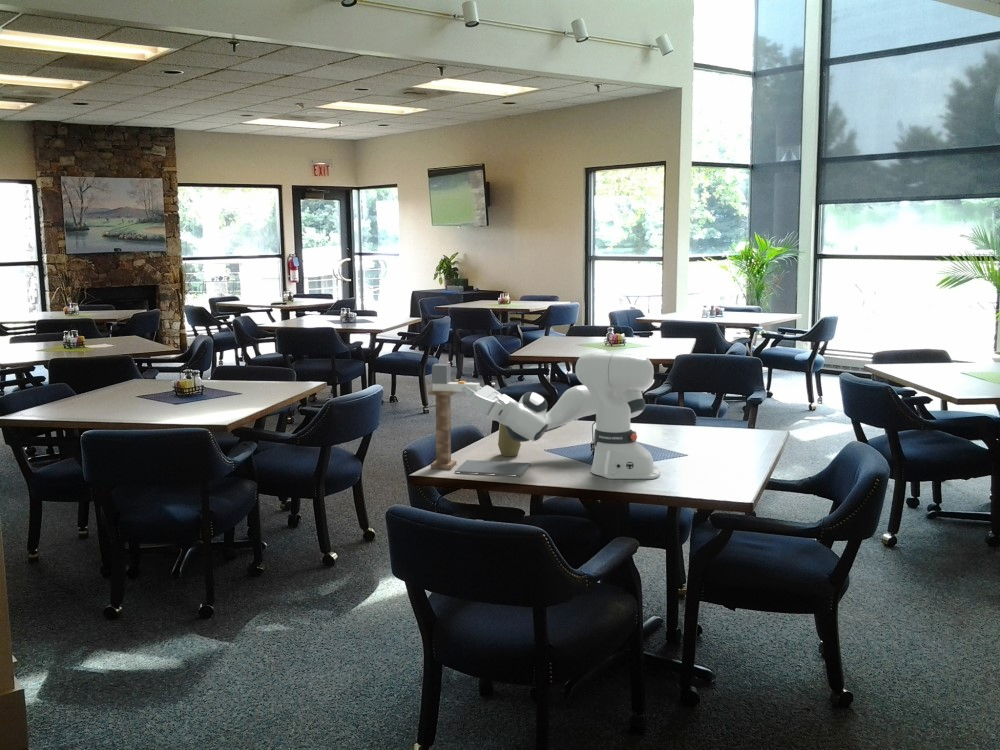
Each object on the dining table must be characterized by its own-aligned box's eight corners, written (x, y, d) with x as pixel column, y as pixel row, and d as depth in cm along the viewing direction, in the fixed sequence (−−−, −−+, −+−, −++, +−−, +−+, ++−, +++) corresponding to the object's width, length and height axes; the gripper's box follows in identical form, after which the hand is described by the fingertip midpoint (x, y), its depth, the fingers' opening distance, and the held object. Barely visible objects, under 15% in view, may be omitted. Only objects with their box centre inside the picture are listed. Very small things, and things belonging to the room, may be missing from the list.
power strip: (479, 390, 309) (479, 364, 307) (476, 392, 304) (476, 366, 303) (436, 388, 312) (436, 363, 311) (432, 391, 307) (431, 365, 306)
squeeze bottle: (501, 458, 325) (501, 407, 322) (495, 453, 333) (495, 403, 330) (523, 456, 327) (523, 406, 325) (517, 451, 335) (517, 402, 332)
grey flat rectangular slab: (530, 465, 314) (530, 462, 314) (521, 476, 299) (521, 474, 299) (466, 462, 319) (466, 459, 319) (454, 473, 303) (454, 470, 303)
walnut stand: (458, 464, 315) (457, 388, 312) (452, 470, 308) (451, 392, 304) (435, 463, 317) (434, 387, 313) (428, 468, 309) (427, 391, 306)
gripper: (512, 394, 315) (477, 373, 316) (499, 404, 295) (462, 381, 296) (503, 410, 316) (468, 389, 318) (489, 421, 296) (453, 398, 298)
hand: (465, 385), depth 307 cm, fingers open, 6 cm apart
